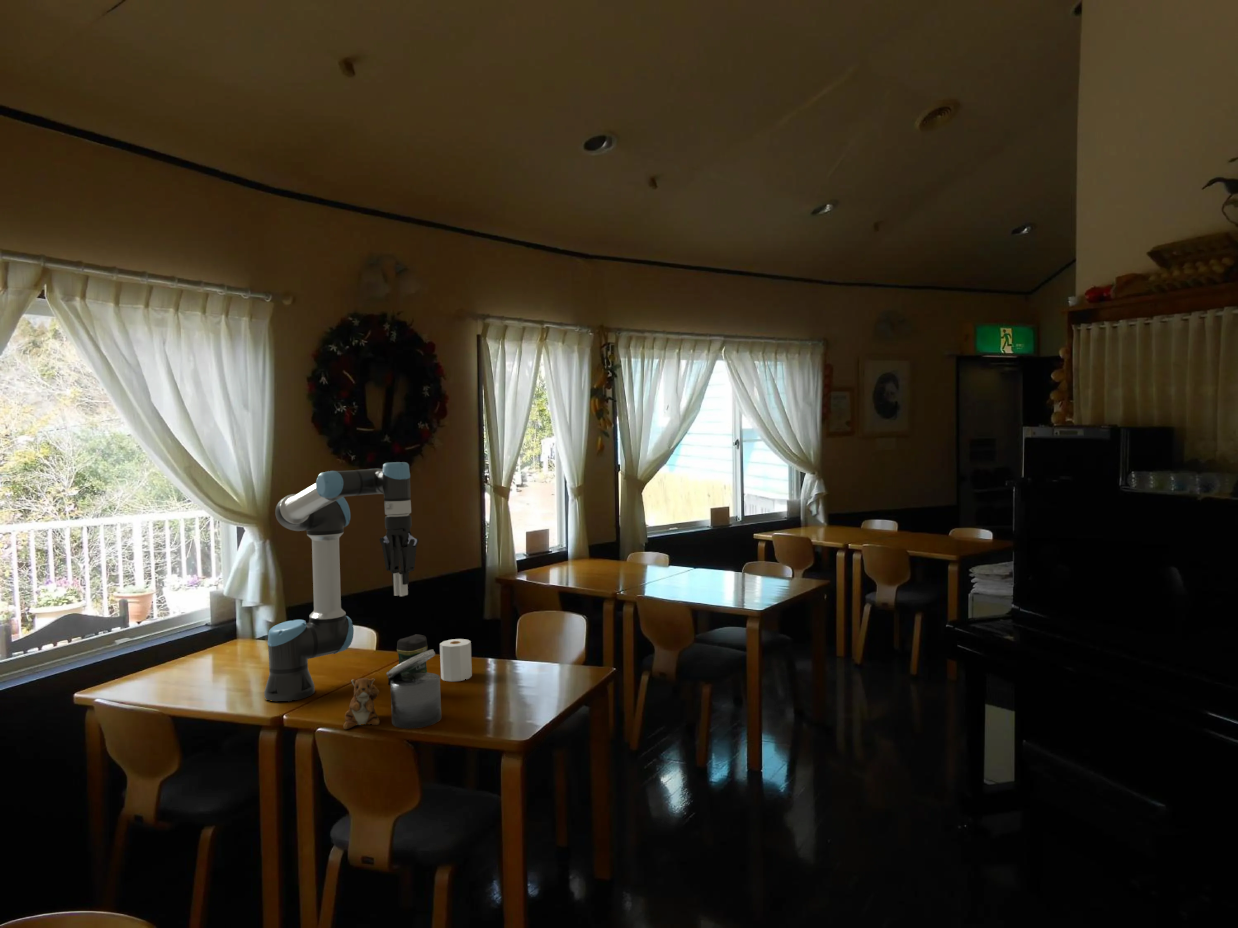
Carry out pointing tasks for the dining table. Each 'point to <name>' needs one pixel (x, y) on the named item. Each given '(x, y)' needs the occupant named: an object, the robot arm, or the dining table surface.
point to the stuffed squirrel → (362, 704)
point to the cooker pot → (415, 700)
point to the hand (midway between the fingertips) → (401, 594)
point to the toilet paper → (455, 660)
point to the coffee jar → (412, 651)
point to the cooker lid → (410, 663)
